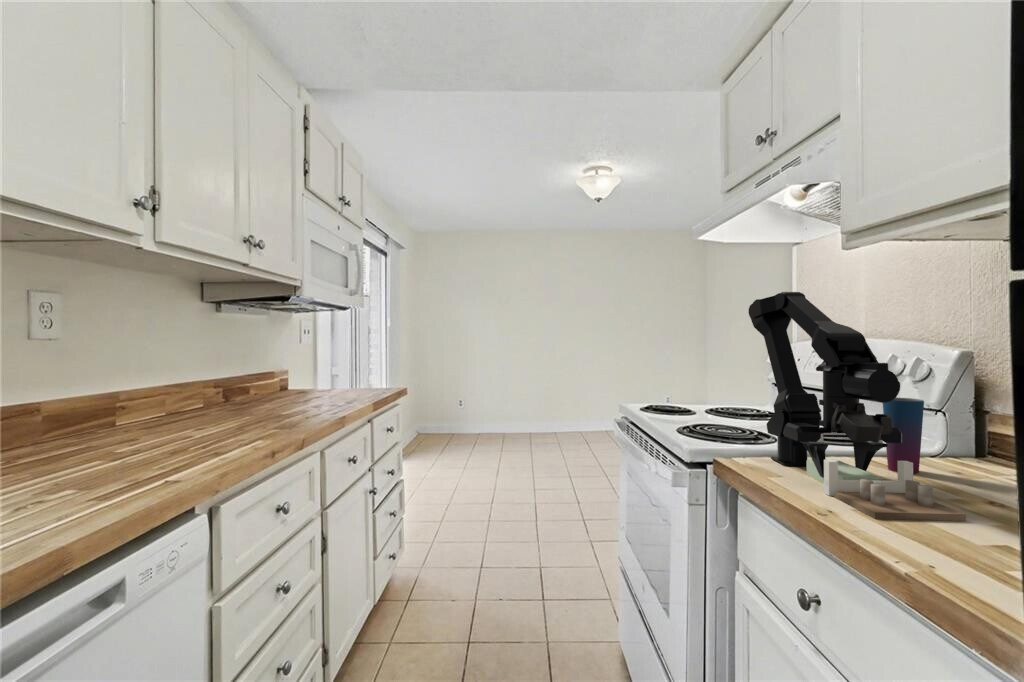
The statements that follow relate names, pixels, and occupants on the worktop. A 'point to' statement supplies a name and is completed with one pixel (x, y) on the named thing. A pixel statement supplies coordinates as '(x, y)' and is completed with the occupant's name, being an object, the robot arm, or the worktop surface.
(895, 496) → the peg stand
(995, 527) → the worktop surface
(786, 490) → the worktop surface
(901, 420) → the cup
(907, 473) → the u-shaped frame
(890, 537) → the worktop surface
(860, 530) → the worktop surface
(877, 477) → the board
